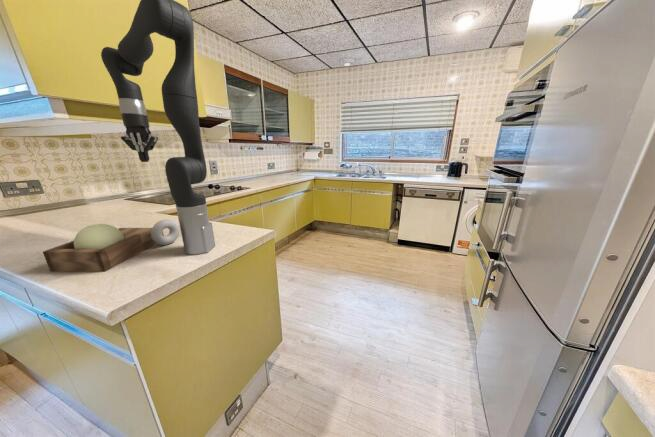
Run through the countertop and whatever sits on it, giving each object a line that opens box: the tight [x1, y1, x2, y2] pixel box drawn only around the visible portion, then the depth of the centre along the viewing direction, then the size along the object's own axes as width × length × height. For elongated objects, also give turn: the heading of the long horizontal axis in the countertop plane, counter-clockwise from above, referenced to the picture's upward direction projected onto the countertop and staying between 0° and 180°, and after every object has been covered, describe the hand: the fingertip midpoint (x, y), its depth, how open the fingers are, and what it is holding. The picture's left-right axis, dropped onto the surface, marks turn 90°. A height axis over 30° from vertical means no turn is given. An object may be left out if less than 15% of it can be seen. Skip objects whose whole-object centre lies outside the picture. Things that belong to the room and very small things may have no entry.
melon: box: [73, 223, 124, 249], centre depth 76 cm, size 12×12×12 cm
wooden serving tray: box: [42, 227, 165, 272], centre depth 81 cm, size 17×26×6 cm, turn 0°
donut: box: [151, 219, 181, 246], centre depth 88 cm, size 10×4×10 cm, turn 155°
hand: (145, 161), depth 89 cm, fingers closed
